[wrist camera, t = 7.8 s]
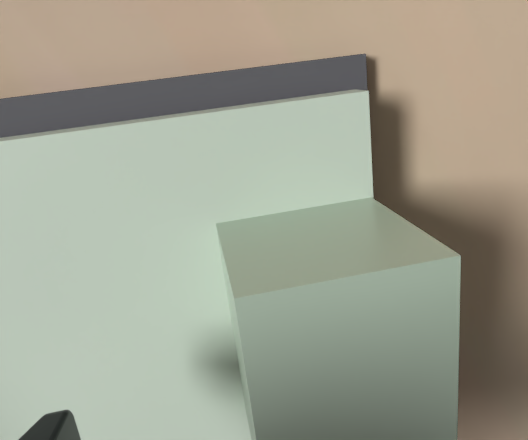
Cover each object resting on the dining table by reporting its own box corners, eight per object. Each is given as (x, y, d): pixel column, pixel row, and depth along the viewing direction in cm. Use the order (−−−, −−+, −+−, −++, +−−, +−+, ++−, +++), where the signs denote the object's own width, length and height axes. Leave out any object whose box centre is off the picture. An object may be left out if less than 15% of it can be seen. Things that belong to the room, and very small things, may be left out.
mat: (359, 54, 11) (365, 53, 11) (376, 426, 14) (382, 436, 14) (-317, 138, 9) (-339, 141, 9) (-109, 539, 13) (-118, 554, 12)
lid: (348, 88, 11) (467, 99, 6) (368, 420, 14) (456, 584, 9) (-263, 171, 9) (-673, 266, 5) (-87, 527, 12) (-237, 784, 8)
